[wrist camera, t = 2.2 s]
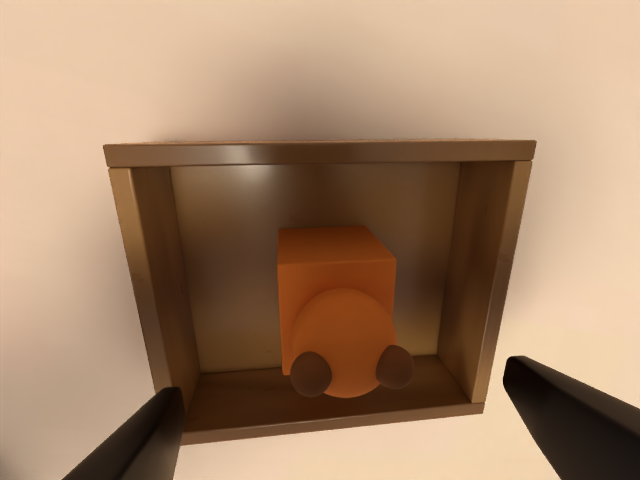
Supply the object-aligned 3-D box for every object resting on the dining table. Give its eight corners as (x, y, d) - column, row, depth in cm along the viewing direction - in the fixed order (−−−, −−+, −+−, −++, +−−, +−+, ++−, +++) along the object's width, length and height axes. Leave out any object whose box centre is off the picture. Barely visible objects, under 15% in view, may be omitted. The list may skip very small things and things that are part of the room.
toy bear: (362, 309, 17) (424, 440, 10) (282, 314, 16) (283, 456, 9) (366, 225, 15) (441, 304, 8) (277, 228, 15) (274, 316, 8)
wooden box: (441, 356, 19) (483, 414, 15) (192, 377, 18) (166, 448, 14) (470, 138, 15) (538, 140, 11) (153, 141, 14) (101, 144, 10)
